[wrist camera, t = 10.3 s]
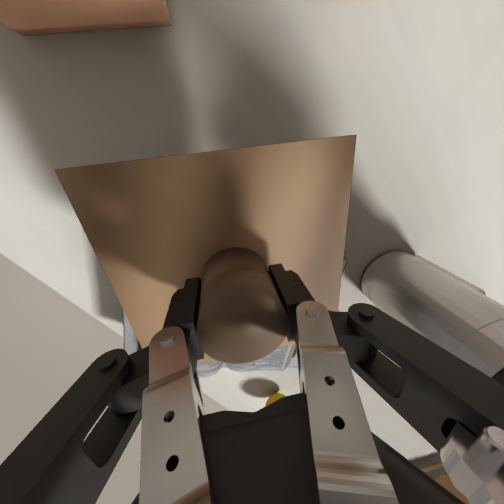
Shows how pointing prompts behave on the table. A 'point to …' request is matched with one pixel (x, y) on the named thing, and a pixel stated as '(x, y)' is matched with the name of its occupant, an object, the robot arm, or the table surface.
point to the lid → (219, 235)
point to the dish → (81, 15)
